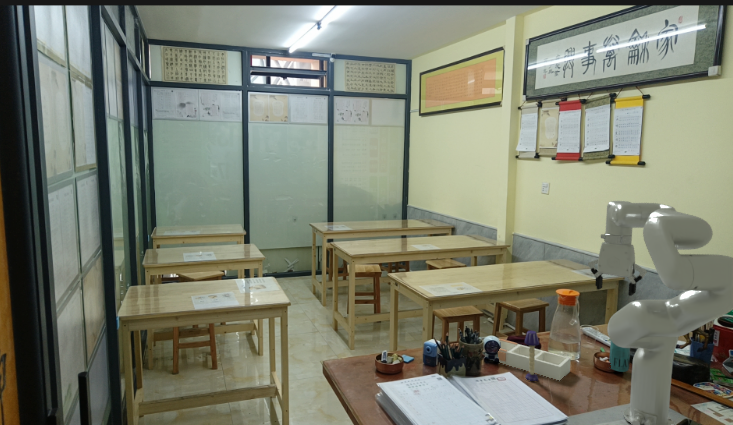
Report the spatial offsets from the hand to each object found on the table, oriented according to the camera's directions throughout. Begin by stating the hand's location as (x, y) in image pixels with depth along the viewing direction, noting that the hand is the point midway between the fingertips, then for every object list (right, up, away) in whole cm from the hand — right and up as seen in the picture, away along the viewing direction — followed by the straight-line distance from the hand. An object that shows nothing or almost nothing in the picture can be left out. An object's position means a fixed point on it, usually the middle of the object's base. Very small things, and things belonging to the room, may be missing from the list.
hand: (614, 291), depth 154 cm
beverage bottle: (+8, -31, +14) cm, 35 cm away
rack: (-22, -30, +20) cm, 42 cm away
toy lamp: (-24, -31, +8) cm, 41 cm away
